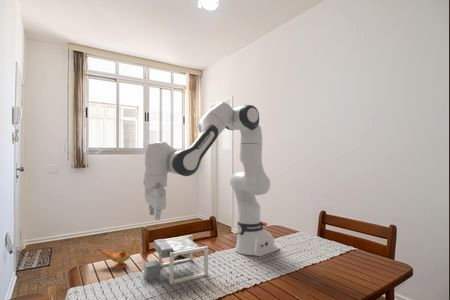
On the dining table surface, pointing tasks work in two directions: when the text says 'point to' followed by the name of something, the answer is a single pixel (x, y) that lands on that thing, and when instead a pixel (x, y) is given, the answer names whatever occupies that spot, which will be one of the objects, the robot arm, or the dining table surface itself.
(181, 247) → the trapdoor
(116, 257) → the magic lamp
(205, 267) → the frame
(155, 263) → the stone
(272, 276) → the dining table surface
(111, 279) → the dining table surface
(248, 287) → the dining table surface
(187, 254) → the rock sample
